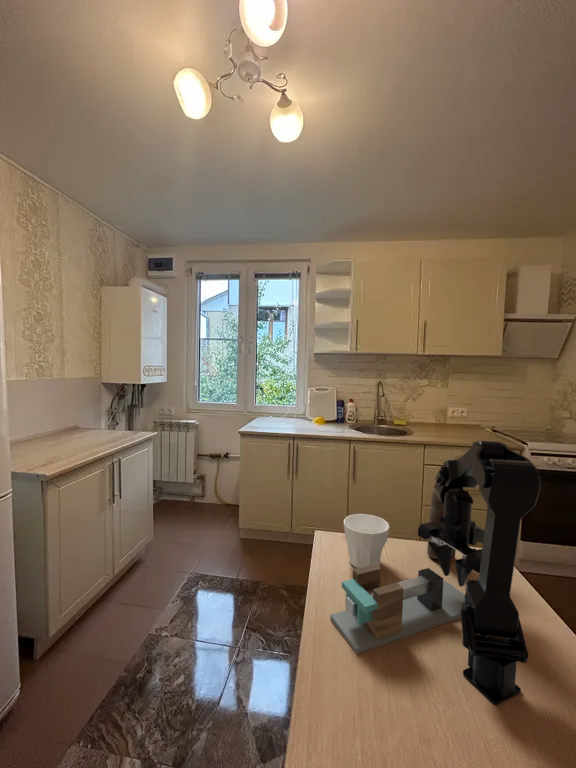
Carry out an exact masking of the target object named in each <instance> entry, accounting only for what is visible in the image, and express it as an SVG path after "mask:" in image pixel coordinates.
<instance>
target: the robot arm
mask: <svg viewBox="0 0 576 768" xmlns="http://www.w3.org/2000/svg"><path fill="white" fill-rule="evenodd" d="M434 480H435V484H434V486H433V487H434V489H435V492H436V494H437V495H438V497H439V498H440V500H441V501H442V503H443V504H444V516H443V517H440V520H439V521H440V522H441V523H443V526H442V525H440V524H438V523H436V522H430V521H429V522H425V523H421V524H420V525H419V526H418V527H417V528H418V529H417V536H418V537H420V538H422V539H423V540H425V541H426V540H427V541H428V539H429V538H430V537H431V542H429V546H431V548H432V549H433V551H434V553H435V555H436V557H437V559H436V560H437V562H438V563H439V566H440V569H441V572H442V573H443V575H444V576H445V577H448V576H449V575H450V571H451V561H452V560H451V552H452V550H453V549H455V550H456V551H457V552H458V553H460V554H462V556H461V558H459V559H456V560H455V559H454V560H455V561H454V562H455V569H456V577H457V583H458V586H459V587H464V585H465V597H464V598H465V602H463V603H462V607H461V611H460V615H461V618H460V622H461V631H462V632H461V633H462V643H461V644H462V646H463V647H464V648H465V649H467V650H468V655H467V666H468V668H465V669H463V670H462V675H463V676H464V677H465V678H466V679H467V680H468V681H469V682H470V683H471V684H472V685H473V686H474V687H475V688H476V689H477V690H478V691H479V692H481V694H482V695H484V696H485V697H486V698H487V700H489V701H490V702H491V703H492V704H493V705H495V706H496V705H497V706H498V705H500V704H501V703H504V702H506V701H507V700H509V699H511V698H514V697H515V696H518V695H519V694H521V692H522V689H521V687H520V686H519V685H518V684H517V683H516V676H517V675H516V674H517V662H518V663H522V664H527V662H528V659H529V651H528V648H527V644H526V639H525V636H524V633H523V632H524V631H523V628H522V624H521V620H520V614H519V610H518V608H517V607H516V605H515V603H514V601H513V600H512V598H511V589H512V583H513V577H514V569H515V563H516V562H515V561H516V556H517V549H518V548H517V547H518V543H519V535H520V527H521V520H522V518H523V517H525V516H526V515H527V514H528V513H529V512H531V511H532V510H533V508H535V506H536V505H537V501H538V498H539V494H540V491H541V490H542V488H543V477H542V474H541V472H540V470H539V469H538V468H537V467H536V466H535V465H534V464H533V463H532V461H531V460H530V459H529V458H528V457H527V456H524V455H523V454H520V453H519V452H516V451H514V450H512V449H510V448H509V446H507V445H506V443H504V442H501V441H498V440H497V441H495V440H494V441H493V440H477V441H473V442H472V445H471V448H470V449H469V450H467V451H466V452H465V453H464V454H463V455H461V456H460V457H459V458H456V459H447V460H444V461H443V465H441V466H440V468H439V470H438V472H437V473H436V476H435V478H434ZM477 486H478V490H479V492H480V494H481V496H482V498H483V499H484V500H483V501H485V503H486V505H487V508H486V510H487V511H486V515H485V516H486V517H485V525H484V526H485V527H484V528H483V527H481V526H478V525H477V524H476V521H473V520H472V511H473V509H472V508H473V504H474V499H473V497H472V495H471V494H470V492H469V490H465V488H466V489H475V488H476V487H477ZM430 534H431V535H430ZM478 543H480V544H482V547H481V549H476V548H472V547H470V545H471V546H476V545H477V544H478ZM472 571H475V573H477V574H478V575H479V576H478V579H477V580H476V579H468V578H469V576H470V574H471V573H472ZM467 580H468V581H467Z"/></svg>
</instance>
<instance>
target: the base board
mask: <svg viewBox="0 0 576 768" xmlns="http://www.w3.org/2000/svg"><path fill="white" fill-rule="evenodd" d="M465 594H466V593H465ZM465 594H464V592H462V591H461V590H459V588H456V587H455V586H454V585H452V584H451V583H449V582H447V580H443V599H442V608H441V609H438V610H435V611H431V610H429V609H428V608H427V607H426V606H425V605H424V604H422V603H421V602H420V601H419V600H418V599H417V596H415V597H412V598H409V599H406V600H403V610H402V632H399V633H396V634H393V635H390V636H388V637H385V638H382V639H379V640H377V639H376V638H375V637H374V636H373V635H372V634H371V632H370V631H369V630H368V629H367V628H366V626H365V625H364V624H360V625H359V624H358V623H357V616H356V615H354V616H352V615H351V613H350V612H349V611H347V610H346V609H345V610H342V611H339V612H335V613H331V614H330V616H329V617H330V621H331V622H332V624H333V625H334V626H335V628H336V629H337V630H338V631H339V632H340V634H341V636H342V637H343V638H344V640H346V642H347V643H348V644H349V646H350V647H351V648H352V650H353V651H354V653H355V654H356V655H358V654H362V653H363V652H367V651H369V650H373V649H375V648H378V647H381V646H384V645H387V644H389V643H392V642H394V641H398V640H401V639H404V638H407V637H409V636H412V635H415V634H418V633H421V632H425V631H427V630H429V629H432V628H434V627H437V626H440V625H443V624H446V623H448V622H449V623H450V622H451V621H454V620H458V619H461V615H460V611H461V607H462V603H463V602H465V598H464V597H465Z"/></svg>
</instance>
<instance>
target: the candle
mask: <svg viewBox="0 0 576 768" xmlns="http://www.w3.org/2000/svg"><path fill="white" fill-rule="evenodd" d="M430 501H431V502H430V513H429V522H436V523H438V524H440V525H442V526H443V523H441V522H440V521H439V520H440V517H443V516H444V504H443V503H442V501H441V500H440V498H439V497H438V495H437V494H436V492H435V489H434V486H433V487H432V489H431V500H430ZM430 535H431V534H430ZM429 542H431V537H430V538H429V539H427V552H426V553H427V555H428V556H429V558H431V559H432V558H433V559H436V560H437V557H436V555H435V553H434V551H433V549H432V548H431V546H429ZM456 551H457V550H455V549H453V550H452V552H451V561H453V560H455V558H456Z"/></svg>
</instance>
